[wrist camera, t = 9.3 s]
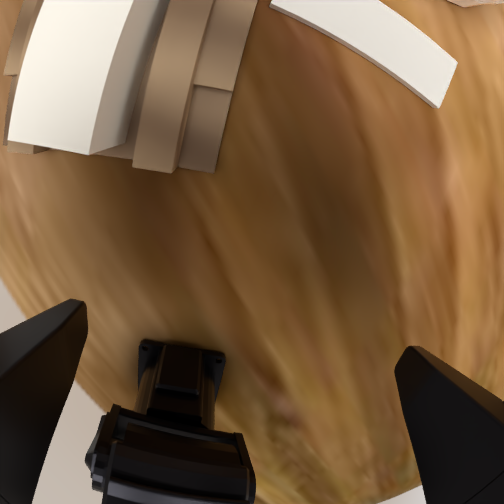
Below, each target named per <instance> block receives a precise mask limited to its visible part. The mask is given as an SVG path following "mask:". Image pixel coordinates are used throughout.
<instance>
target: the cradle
mask: <svg viewBox="0 0 504 504" xmlns="http://www.w3.org/2000/svg"><path fill="white" fill-rule="evenodd" d="M257 1H258V0H170V1H169V4H168V6H167V9H166V11H165V14H164V16H163V19H162V22H161V24H160V27H159V29H158V32H157V35H156V38H155V40H154V43H153V46H152V49H151V52H150V55H149V58H148V61H147V64H146V67H145V70H144V74H143V77H142V80H141V83H140V87H139V90H138V94H137V97H136V101H135V105H134V108H133V112H132V116H131V120H130V124H129V128H128V132H127V136H126V141H125V143H123V144H120V145H117V146H114V147H111V148H108V149H105V150H102V151H99V152H96V153H93V154H96V155H103V156H111V157H118V158H125V159H132V160H133V164H132V167H135V168H141V169H147V170H153V171H159V172H165V173H172V172H173V171H174V170H175V169H176V168H177V167H181V168H186V169H192V170H197V171H203V172H208V173H213V174H214V171H215V166H216V162H217V157H218V153H219V148H220V144H221V139H222V135H223V130H224V126H225V122H226V118H227V113H228V109H229V105H230V101H231V97H232V93H233V89H234V85H235V81H236V77H237V73H238V69H239V65H240V61H241V58H242V54H243V50H244V46H245V43H246V39H247V35H248V32H249V28H250V25H251V21H252V18H253V14H254V11H255V7H256V4H257ZM43 2H44V0H24V1H23V4H22V7H21V10H20V13H19V16H18V19H17V23H16V26H15V29H14V33H13V36H12V40H11V44H10V48H9V52H8V56H7V61H6V65H5V70H4V75H7V76H12V81H11V86H10V92H9V98H8V105H7V112H6V120H5V130H4V141H3V145H6V146H7V152H13V153H24V154H36V153H39V152H42V151H46V150H49V149H53V150H60V149H55V148H50V147H44V146H39V145H33V144H28V143H22V142H16V141H10V140H8V132H9V126H10V120H11V114H12V108H13V103H14V98H15V93H16V89H17V84H18V80H19V76H20V72H21V68H22V64H23V61H24V57H25V54H26V50H27V47H28V44H29V41H30V38H31V35H32V32H33V29H34V26H35V23H36V20H37V17H38V15H39V12H40V10H41V7H42V5H43ZM62 151H65V150H62Z"/></svg>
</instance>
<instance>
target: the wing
mask: <svg viewBox="0 0 504 504" xmlns="http://www.w3.org/2000/svg"><path fill="white" fill-rule="evenodd" d="M269 7H270V8H272V9H275V10H277V11H279V12H281V13H284V14H286V15H288V16H290V17H292V18H294V19H296V20H298V21H300V22H302V23H304V24H306V25H308V26H310V27H312V28H314V29H316V30H318V31H320V32H322V33H323V34H325V35H327V36H329V37H331V38H332V39H334V40H336V41H338V42H339V43H341V44H343V45H345V46H346V47H348V48H350V49H351V50H353V51H354V52H356V53H358V54H359V55H361V56H362V57H364V58H366V59H367V60H369V61H370V62H372V63H373V64H375V65H376V66H378V67H379V68H381V69H382V70H384V71H385V72H387V73H388V74H389V75H391V76H392V77H394V78H395V79H396V80H398V81H399V82H401V83H402V84H403V85H405V86H406V87H407V88H409V89H410V90H411V91H413V92H414V93H415V94H416V95H418V96H419V97H420V98H421V99H423V100H424V101H425V102H426V103H428V104H429V105H430V106H431V107H433V108H439V107H440V105H441V103H442V101H443V98H444V96H445V93H446V91H447V89H448V86H449V84H450V81H451V79H452V76H453V74H454V71H455V69H456V66H457V62H456V61H455V60H454V59H453V58H452V57H451V56H450V55H449V54H448V53H447V52H445V51H444V50H443V49H442V48H441V47H440V46H439V45H437V44H436V43H435V42H434V41H433V40H431V39H430V38H429V37H428V36H427V35H425V34H424V33H423V32H422V31H420V30H419V29H418V28H416V27H415V26H414V25H413V24H411V23H410V22H409V21H407V20H406V19H405V18H403V17H402V16H400V15H399V14H398V13H396V12H395V11H393V10H392V9H391V8H389V7H388V6H386V5H385V4H383V3H382V2H380V1H379V0H272V1H271V3H270V5H269Z"/></svg>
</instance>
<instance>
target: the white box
mask: <svg viewBox="0 0 504 504" xmlns="http://www.w3.org/2000/svg"><path fill="white" fill-rule="evenodd" d="M169 1H170V0H44V2H43V5H42V7H41V10H40V12H39V15H38V17H37V20H36V23H35V26H34V29H33V32H32V35H31V38H30V41H29V44H28V47H27V50H26V54H25V57H24V61H23V64H22V68H21V72H20V76H19V80H18V84H17V89H16V93H15V98H14V103H13V108H12V114H11V120H10V126H9V132H8V140H10V141H16V142H22V143H28V144H33V145H39V146H44V147H50V148H55V149H60V150H65V151H71V152H76V153H81V154H85V155H90V154H93V153H96V152H99V151H102V150H105V149H108V148H111V147H114V146H117V145H120V144H123V143H125V141H126V136H127V132H128V128H129V124H130V120H131V116H132V112H133V108H134V105H135V101H136V97H137V94H138V90H139V87H140V83H141V80H142V77H143V74H144V70H145V67H146V64H147V61H148V58H149V55H150V52H151V49H152V46H153V43H154V40H155V38H156V35H157V32H158V29H159V27H160V24H161V22H162V19H163V16H164V14H165V11H166V9H167V6H168V4H169Z"/></svg>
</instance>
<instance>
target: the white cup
mask: <svg viewBox="0 0 504 504" xmlns="http://www.w3.org/2000/svg"><path fill="white" fill-rule="evenodd" d="M447 1H449V2H452V3H454V4H457V5H459V6H461V7H471V6H478V5H483V4H500V3H504V0H447Z"/></svg>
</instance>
